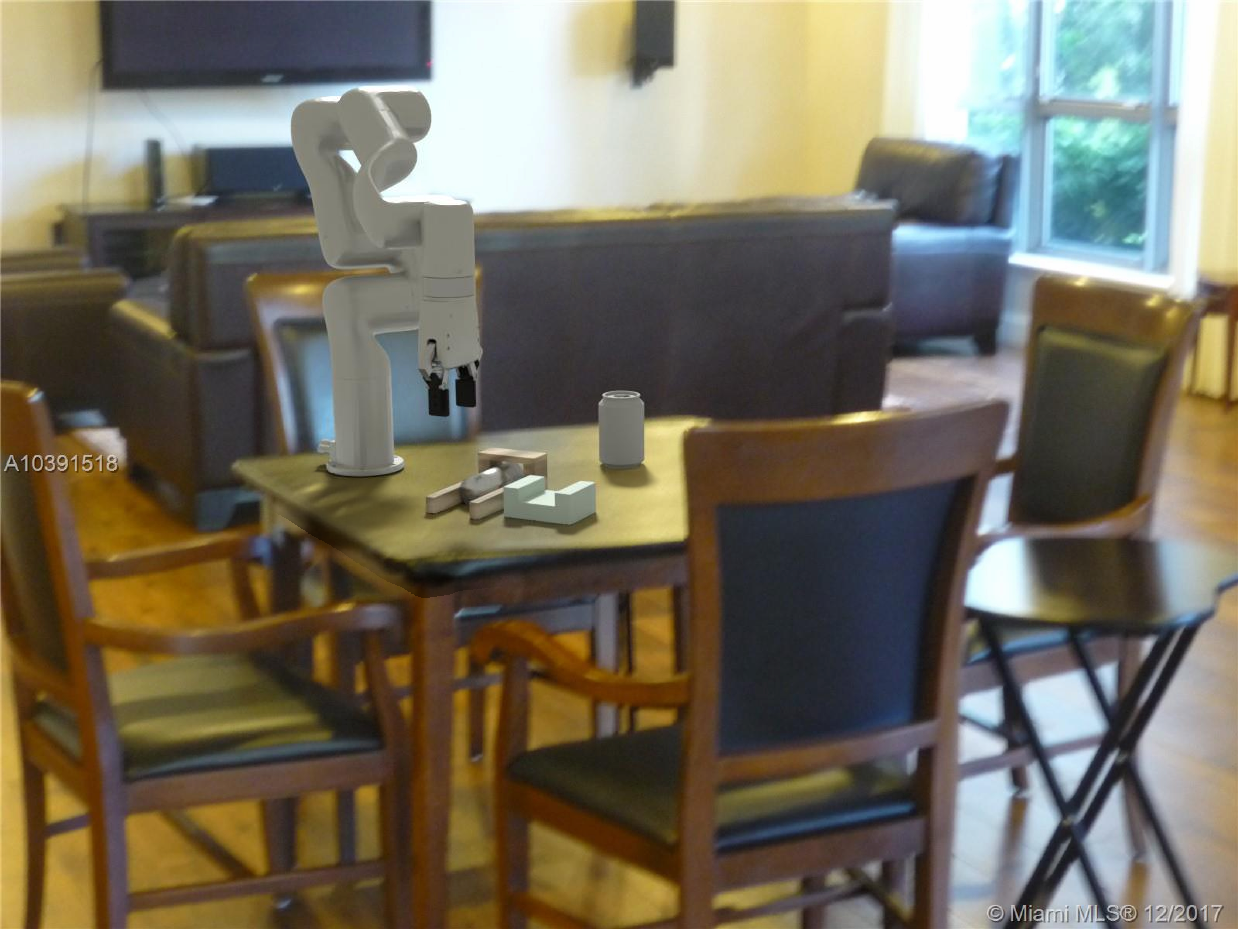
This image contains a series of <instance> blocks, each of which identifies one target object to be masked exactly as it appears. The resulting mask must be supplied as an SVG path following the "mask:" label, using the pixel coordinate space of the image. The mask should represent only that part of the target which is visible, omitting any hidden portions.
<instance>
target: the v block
mask: <svg viewBox="0 0 1238 929" xmlns="http://www.w3.org/2000/svg"><path fill="white" fill-rule="evenodd" d="M596 484H597V483H596V482H595V481H585V480H578V481H577V482H574V483H573V484H570V485H568V486H566V487H564V488H562V489H559V490H549V489H548V490H545V477H542V476H533V475H529V476H527V477H525V478H522V479H520V480H518V481H516V482H513V483H511V484H509V485H506V486H504V487H503V496H504V508H503V517H504V518H510V517H511V519H512V518H513V519H518V520H519V519H520V520H528V521H534V520H535V521H536V522H541V523H543V522H544V523H551V524H559V525H561V524H562V525H566V524H567V526H572V525H573V524H575V523H577V522H580V521H581V520H583V519H586V518H587V517H589V516H591V515H593V514H595V513H596V512H597V506H596V505H597V502H596V500H597V498H596V496H597V494H596V490H597V489H596V486H597V485H596ZM571 524H572V525H571Z"/></svg>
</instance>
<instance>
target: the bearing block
mask: <svg viewBox="0 0 1238 929" xmlns="http://www.w3.org/2000/svg"><path fill="white" fill-rule="evenodd" d="M505 462H512V463H517V464H521V465H522V466H523V467H522V470H523V478H525V477H527V476H529V475H533V476H542V477H545V490H549V489H548V487H549V486H548V485H549V483H548V453H547V452H540V451H539V452H538V451H529V450H518V449H511V448H501V447H500V448H499V447H489V448H486V449H483V450H481V451H479V452H477V465H478V466H477V467H478V468H477V469H478V474H479V473H481V472H484V471H486V470H488V469H491V468H493V467H496V466H498V465H500V464H503V463H505ZM461 483H462V481H460V482H457V483H456V484H453V485H450V486H448V487H446V488H443V489H440V490H439V491H436V492H434V493H430V494H428V495H426V496H425V514H429V513H436V514H438V512H439V513H441V512H443V511H446V510H448V509H450V508H452V507H455V506H456V505H459V504H461V503H463V502H464V501H463V500H462V498H461V496H460V485H461ZM464 503H465V502H464ZM468 506H469V519H470V518H474V519H473V520H477V519H479V520H481V519H483V518H482V517H484V518H485V517H487V516H490V515H492V514H494V513H497V512H499V511H501V510H504V496H503V487H502V488H500V489H498V490H496V491H493V492H491V493H489V494H486V495H484V496H482V497H480V498H477V499H475V500H473V501H471V502H469V505H468ZM442 510H443V511H442ZM440 511H441V512H440ZM480 518H481V519H480Z"/></svg>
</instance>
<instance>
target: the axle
mask: <svg viewBox="0 0 1238 929" xmlns="http://www.w3.org/2000/svg"><path fill="white" fill-rule="evenodd" d="M522 478H523V467H521V465H520V463H512V462H503V464H500V465H498V466H496V467H493V468H491V469H488V470H486V471H484V472H481V473H479V472H478V473H476V474H474V475H472V476H469V477H466V478H465V479H463V480H462V481H461V482H462V483H461V485H460V496H461V498H462V500H463V501H464V503H465V504H466V505H468V506H469V502H471V501H473V500H475V499H477V498H480V497H482V496H484V495H486V494H489V493H491V492H493V491H496V490H498V489H500V488H502V487H504V486H506V485H509V484H511V483H513V482H516V481H518V480H520V479H522Z"/></svg>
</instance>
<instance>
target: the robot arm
mask: <svg viewBox="0 0 1238 929" xmlns="http://www.w3.org/2000/svg"><path fill="white" fill-rule="evenodd" d="M431 125H432V110H431V107H430V104H429V102H428V99H427V98H426V96H425V95H424V94H423V92H421V91H420V90H419V89H417V88H416V87H413V86H409V85H387V86H386V85H382V86H381V85H379V86H378V85H377V86H376V85H375V86H373V85H372V86H368V85H367V86H359V87H355V88H352V89H350V90H347V91H346V92H345V93H343V94H342V95H340V96H324V97H323V96H321V97H315V98H311V99H307V100H305V101H302V102H300V103H299V104H298V105H297V106H296V107H295V108H294V110H293V112H292V115H291V119H290V136H291V138H290V139H291V143H292V148H293V152H294V154H295V158H296V161H297V163H298V165H299V168H300V169H301V172H302V173H303V176H304V177H305V180H306V183H307V185H308V187H309V191H310V195H311V201H312V207H313V212H314V216H315V217H314V218H315V222H316V227H317V234H318V239H319V244H320V248H321V253H322V256H323V257H324V260H325V262H326V263H327V265H328V266H330V267H331V268H334V269H337V270H360V269H376V268H386V269H387V270H388V272H389V273H371V274H358V275H357V274H355V275H349V276H348V275H347V276H342V277H339V278H337V279H334V280H332V281H330V283H328V284H327V285H326V287H325V288H324V290H323V293H322V298H321V301H322V302H321V304H322V312H323V316H324V322H325V325H326V326H325V327H326V332H327V336H328V337H327V338H328V343H329V344H328V345H329V351H330V365H331V366H330V368H331V382H332V383H331V384H332V387H331V388H332V401H333V402H332V407H333V408H332V410H333V430H334V439H326V438H322V439H321V440H319V441H320V442H319V444H318V445H317V452H318V453H320V454H321V453H322V454H329V460H328V461H327V462H326V470H327V471H328V472H329V473H331V474H333V473H334V475H339V476H345V477H373V476H374V477H375V476H382V475H388V474H392V473H396V472H399V471H400V470H403V468H404V466H405V460H404V458H402V457H401V456H399V455H395V445H394V444H395V443H394V442H395V441H394V419H393V415H394V413H393V412H394V411H393V389H392V368H391V367H392V366H391V360H390V358H389V355H388V354H387V352H386V350H385V349H384V348H383V347H382V346H381V344H379V342H378V341H377V339H376V337H375V336H376V335H380V334H385V333H397V332H407V331H408V332H409V331H416V330H418V338H417V343H418V344H417V345H418V346H417V359H418V365H417V369H418V372H419V373H420V374H421V376H422V379H423V381H424V382H425V388H426V389H427V397H428V398H427V400H428V404H427V405H428V415H429V416H433V417H441V418H442V417H443V418H447V417H449V416H450V415H451V414H450V412H451V411H450V410H451V409H450V408H451V407H450V389H449V388H447V383H448V378H449V373H450V371H451V370H453V369H455V372H456V376H457V378H455V379H454V380H455V382H454V383H455V384H454V385H455V386H454V387H455V404H456V406H457V407H460V408H461V407H463V408H476V407H477V382H476V381H477V379H478V376H479V375H478V369H479V367H480V361H481V359H482V357H483V353H484V349H483V348H482V346H481V345H480V341H481V340H480V326H479V317H478V308H477V307H478V306H477V302H476V298H477V296H476V295H477V292H476V290H477V289H476V288H477V287H476V254H475V249H476V248H475V217H474V209H473V206H472V205H471V203H469V202H467V201H464V200H461V199H460V200H459V199H454V198H453V197H451V196H448V195H439V194H437V195H412V196H411V195H409V196H408V195H407V196H393V197H390V196H389V197H385V196H383V195H382V194H381V193H382V192H385V191H386V190H388V189H390V188H392V187H394V186H396V185H397V184H399V183H401V182H402V181H404V180H405V179H407V177H409V176H410V175H411V173H412V172H413V171H414V169H415V167H416V165H417V162H418V151H417V150H418V149H417V148H416V146H415V144H416V143H418V142H419V141H422V140H423V139H425V138H426V137H427V135H428V133H429V132H430V129H431V127H432V126H431ZM338 151H339V152H340V151H342V152H343V151H352V152H353V154H354V155H355V157H356V159H357V161H358V162H359V164H360V168H359V169H358V171H357V170H355V169H354V167H353V166H352V165H351V164H350V162H348V161H347V160H346V159H345V158H343V157H342V156H341V155H339V153H338ZM437 373H440V376H439V375H438V374H437Z"/></svg>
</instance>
